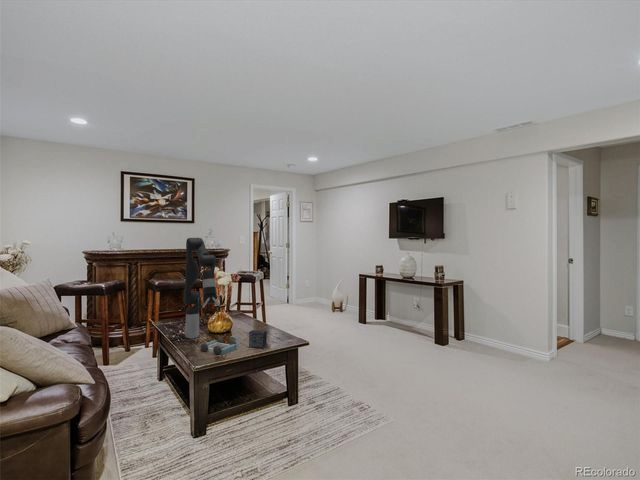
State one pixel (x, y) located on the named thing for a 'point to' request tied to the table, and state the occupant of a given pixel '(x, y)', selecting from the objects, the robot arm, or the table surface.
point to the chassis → (216, 344)
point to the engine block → (236, 339)
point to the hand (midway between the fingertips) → (211, 313)
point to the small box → (257, 339)
